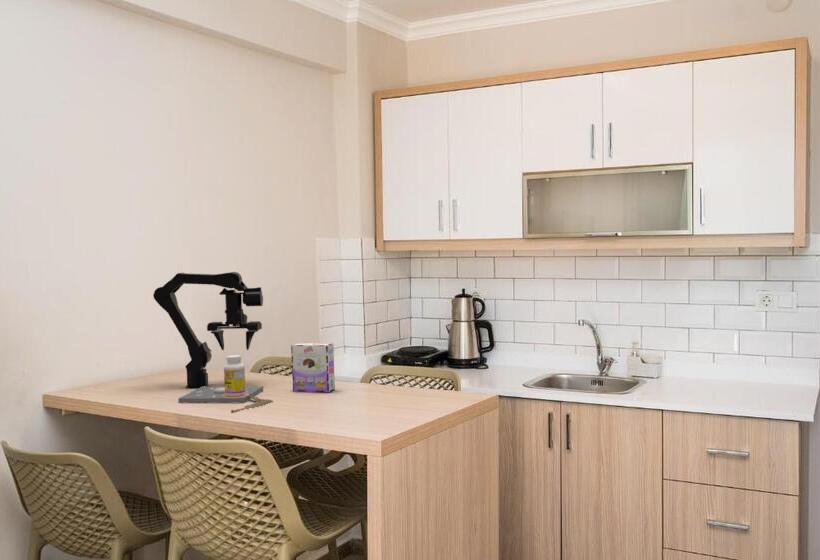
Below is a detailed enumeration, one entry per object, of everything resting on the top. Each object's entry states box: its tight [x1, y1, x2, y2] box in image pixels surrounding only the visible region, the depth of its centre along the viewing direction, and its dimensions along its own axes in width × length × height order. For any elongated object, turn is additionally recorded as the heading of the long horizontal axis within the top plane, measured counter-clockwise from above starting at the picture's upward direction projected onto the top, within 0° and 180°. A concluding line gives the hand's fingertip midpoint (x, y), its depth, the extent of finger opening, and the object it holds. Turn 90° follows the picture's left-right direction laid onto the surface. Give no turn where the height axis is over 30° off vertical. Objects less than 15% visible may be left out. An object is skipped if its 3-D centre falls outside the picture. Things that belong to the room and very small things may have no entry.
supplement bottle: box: [223, 354, 246, 396], centre depth 266 cm, size 7×7×13 cm
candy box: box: [290, 342, 336, 393], centre depth 280 cm, size 14×6×16 cm, turn 71°
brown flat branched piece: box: [230, 396, 274, 414], centre depth 256 cm, size 9×20×2 cm, turn 175°
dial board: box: [177, 386, 264, 404], centre depth 273 cm, size 22×21×3 cm
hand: (235, 349), depth 293 cm, fingers open, 9 cm apart
